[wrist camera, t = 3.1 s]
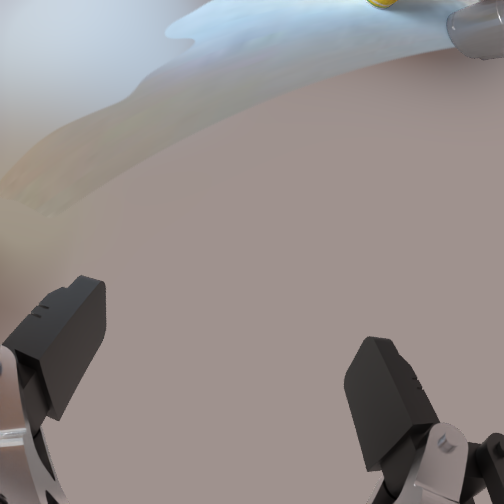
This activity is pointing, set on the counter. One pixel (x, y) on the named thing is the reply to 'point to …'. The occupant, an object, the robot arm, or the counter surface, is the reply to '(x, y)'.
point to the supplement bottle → (380, 3)
